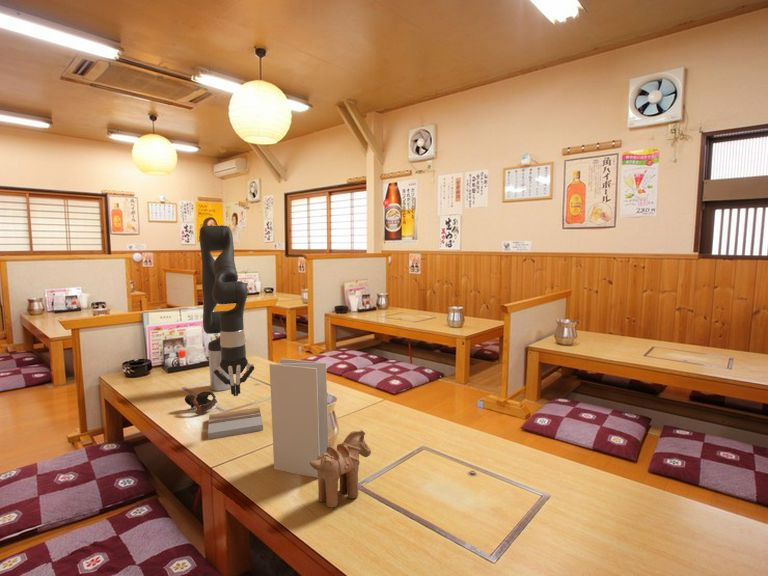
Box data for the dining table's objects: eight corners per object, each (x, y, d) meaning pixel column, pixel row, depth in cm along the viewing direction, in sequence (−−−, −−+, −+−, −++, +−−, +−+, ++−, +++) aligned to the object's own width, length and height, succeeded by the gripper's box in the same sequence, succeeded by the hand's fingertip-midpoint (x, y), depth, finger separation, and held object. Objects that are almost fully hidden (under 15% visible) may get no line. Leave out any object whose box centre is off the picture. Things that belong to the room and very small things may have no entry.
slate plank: (208, 429, 141) (208, 424, 141) (261, 421, 147) (261, 416, 147) (208, 439, 135) (207, 433, 135) (263, 430, 141) (262, 424, 141)
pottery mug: (220, 404, 165) (221, 390, 160) (210, 424, 157) (211, 410, 152) (189, 398, 163) (189, 383, 159) (177, 417, 155) (177, 403, 151)
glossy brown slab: (209, 420, 149) (209, 413, 149) (259, 412, 155) (259, 406, 155) (209, 429, 142) (208, 422, 142) (261, 420, 148) (260, 414, 148)
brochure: (329, 467, 117) (326, 362, 114) (320, 478, 112) (316, 368, 109) (285, 459, 122) (280, 358, 119) (274, 469, 117) (269, 364, 113)
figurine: (379, 487, 108) (378, 431, 106) (321, 517, 96) (319, 455, 94) (361, 475, 113) (360, 422, 111) (304, 503, 102) (302, 444, 100)
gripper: (253, 338, 141) (256, 388, 143) (211, 342, 137) (214, 394, 139) (255, 344, 134) (257, 396, 136) (210, 348, 130) (213, 402, 132)
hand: (235, 395), depth 138 cm, fingers closed
